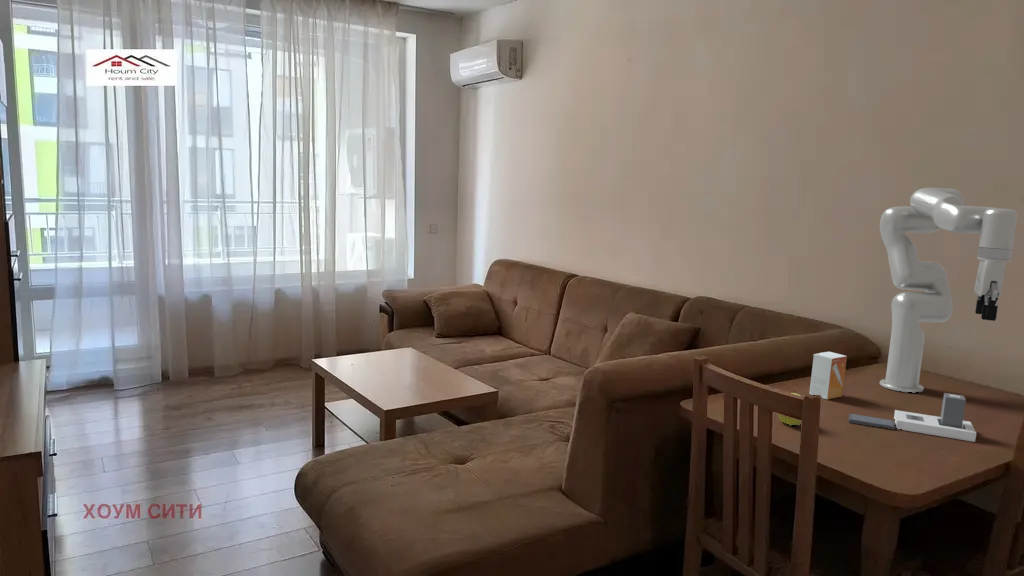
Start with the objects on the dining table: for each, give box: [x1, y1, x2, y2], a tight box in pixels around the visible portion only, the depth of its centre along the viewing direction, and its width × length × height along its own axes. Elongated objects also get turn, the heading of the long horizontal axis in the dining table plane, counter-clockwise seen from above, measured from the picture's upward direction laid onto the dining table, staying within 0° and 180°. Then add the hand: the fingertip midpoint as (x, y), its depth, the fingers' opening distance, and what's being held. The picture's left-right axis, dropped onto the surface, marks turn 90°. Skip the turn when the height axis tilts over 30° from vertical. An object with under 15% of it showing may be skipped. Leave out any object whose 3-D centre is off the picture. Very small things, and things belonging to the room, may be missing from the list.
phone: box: [848, 413, 896, 431], centre depth 192 cm, size 6×11×1 cm, turn 65°
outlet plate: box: [893, 409, 977, 443], centre depth 188 cm, size 10×18×3 cm, turn 64°
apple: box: [777, 390, 802, 427], centre depth 188 cm, size 8×8×10 cm
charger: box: [940, 392, 967, 429], centre depth 186 cm, size 4×4×10 cm
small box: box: [809, 351, 848, 400], centre depth 215 cm, size 8×6×13 cm
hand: (985, 317), depth 190 cm, fingers open, 9 cm apart
